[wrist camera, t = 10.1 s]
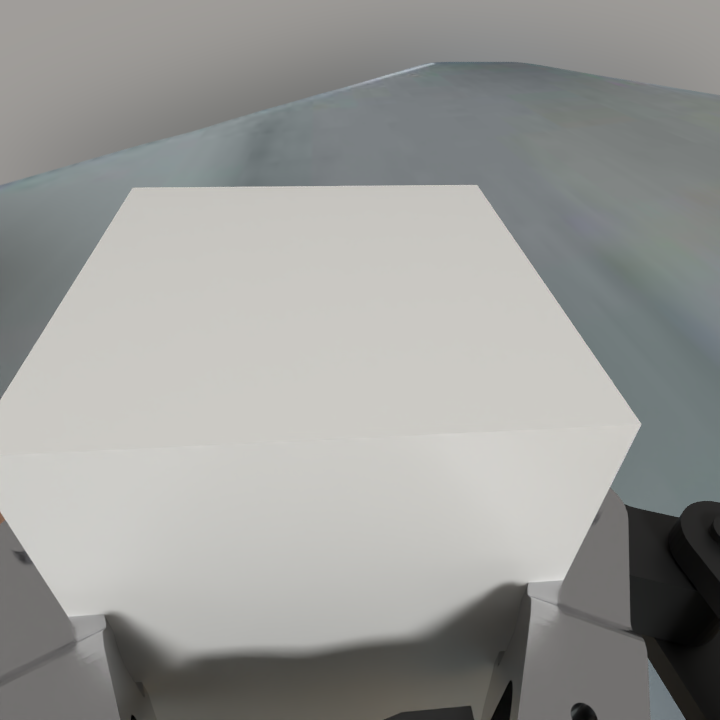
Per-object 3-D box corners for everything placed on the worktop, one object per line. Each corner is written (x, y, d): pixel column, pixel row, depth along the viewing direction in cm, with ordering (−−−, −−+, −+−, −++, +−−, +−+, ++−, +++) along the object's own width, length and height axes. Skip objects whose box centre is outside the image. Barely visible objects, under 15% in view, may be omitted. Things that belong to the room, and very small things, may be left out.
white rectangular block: (180, 790, 11) (-35, 457, 5) (215, 529, 15) (132, 187, 9) (473, 760, 11) (641, 423, 5) (422, 517, 16) (477, 184, 10)
